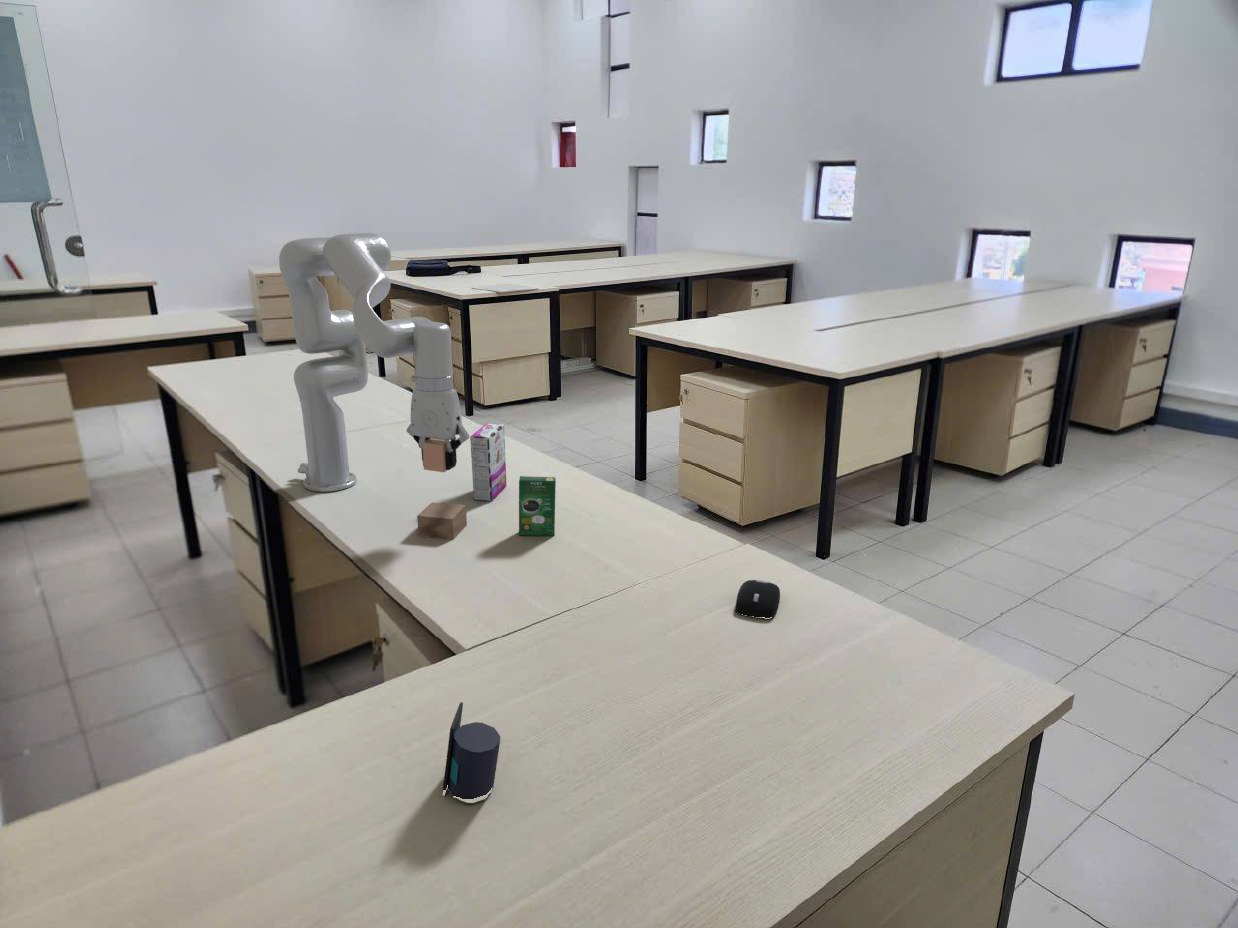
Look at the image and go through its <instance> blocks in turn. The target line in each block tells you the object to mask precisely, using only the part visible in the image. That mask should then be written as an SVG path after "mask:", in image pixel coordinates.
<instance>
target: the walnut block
mask: <svg viewBox="0 0 1238 928" xmlns="http://www.w3.org/2000/svg"><path fill="white" fill-rule="evenodd" d="M416 520H417V533H418V537H423V538H431V539H432V538H434V539H443V540H455V539H456V538H457V537H458V535H460V533H462V531H464V529H465V528H466V527H467V525H468V521H467V505H465V504H456V503H454V504H453V503H445V502H433V501H432V502H431V503H429V504H428V505H427V506H425V508H424V509H422V510H421V512H420V513H418V515H417V516H416Z"/></svg>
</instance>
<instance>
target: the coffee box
mask: <svg viewBox="0 0 1238 928" xmlns="http://www.w3.org/2000/svg"><path fill="white" fill-rule="evenodd" d="M556 484H557V482H556V477H555V476H531V475H530V476H529V475H528V476H527V475H526V476H524V475H520V476H519V479H518V536H525V537H530V536H536V537H538V536H542V537H543V536H544V537H549V536H550V537H552V536H553V537H554V536H555V532H556V531H555V528H556V525H555V524H556V523H555V522H556V517H555V516H556V488H557V487H556Z"/></svg>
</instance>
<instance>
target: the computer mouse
mask: <svg viewBox="0 0 1238 928" xmlns="http://www.w3.org/2000/svg"><path fill="white" fill-rule="evenodd" d="M780 600H781V589H780V588H779V586H778V585H777V584H776V583H772V582H770V581H769V582H768V581H764V580H757V579H750V580H746V581H744V582H743V583H742V584H741V586H740V588H739V589H738V592H737V596H736V601H735V612H736V613H737V612H738V613H740V614H743V615H747V616H746V617H748V616H754V617H765V618H770V617H773V618H774V617H775V615H776V613H777V611H776V610H778V607H779V605H780V602H781V601H780ZM738 613H737V614H738ZM740 614H739V615H740ZM774 614H775V615H774ZM743 615H742V616H743Z"/></svg>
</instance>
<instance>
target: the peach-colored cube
mask: <svg viewBox="0 0 1238 928" xmlns="http://www.w3.org/2000/svg"><path fill="white" fill-rule="evenodd" d="M422 447H423V461H422V464H423V463H424V466H423V470H424V471H431V472H432V471H433V472H438V473H446V472H447V471H448V470H446V461H445V452H447V448H446V445H445V441H444V440H442V439H434V438H430V439H428V440H426V441H424V442H422Z"/></svg>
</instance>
